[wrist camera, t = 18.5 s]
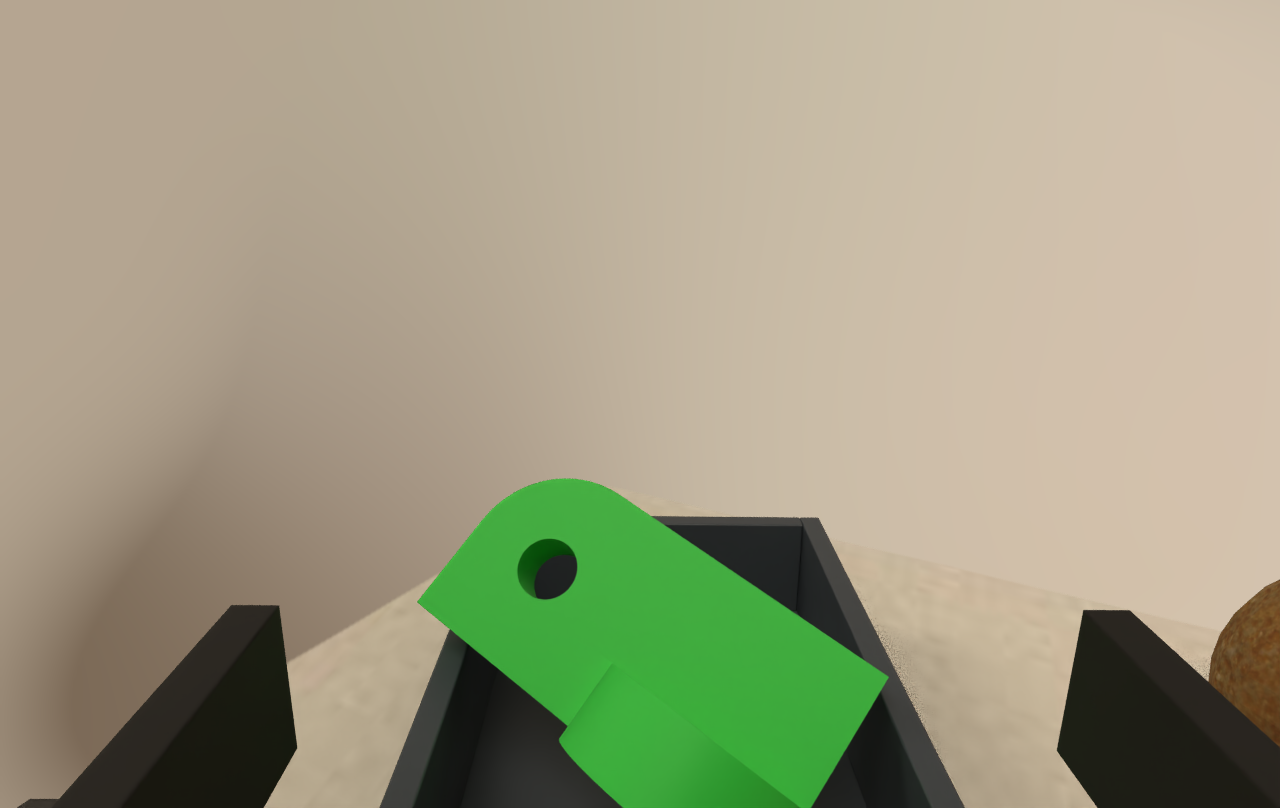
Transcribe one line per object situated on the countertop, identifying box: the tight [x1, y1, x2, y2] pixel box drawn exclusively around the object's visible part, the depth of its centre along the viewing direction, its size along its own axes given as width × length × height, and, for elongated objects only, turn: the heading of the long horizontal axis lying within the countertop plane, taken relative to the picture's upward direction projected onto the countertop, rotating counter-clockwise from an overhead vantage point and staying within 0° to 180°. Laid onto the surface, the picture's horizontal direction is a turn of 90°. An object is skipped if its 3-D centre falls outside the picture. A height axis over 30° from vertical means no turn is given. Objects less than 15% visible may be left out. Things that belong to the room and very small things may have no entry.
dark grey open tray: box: [380, 516, 964, 808], centre depth 26 cm, size 14×20×5 cm
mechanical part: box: [417, 479, 889, 808], centre depth 21 cm, size 12×6×8 cm
